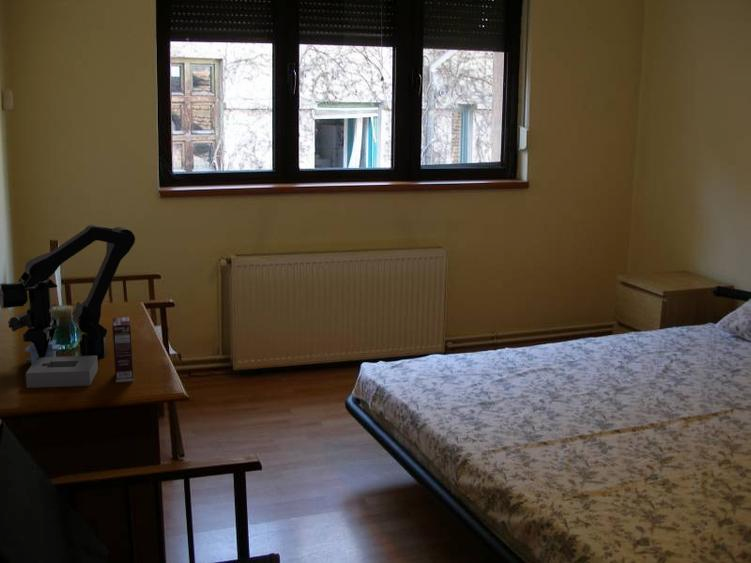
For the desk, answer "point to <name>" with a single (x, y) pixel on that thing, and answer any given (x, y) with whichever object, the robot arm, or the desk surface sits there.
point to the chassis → (62, 371)
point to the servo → (50, 352)
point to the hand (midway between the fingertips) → (43, 357)
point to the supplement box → (122, 349)
